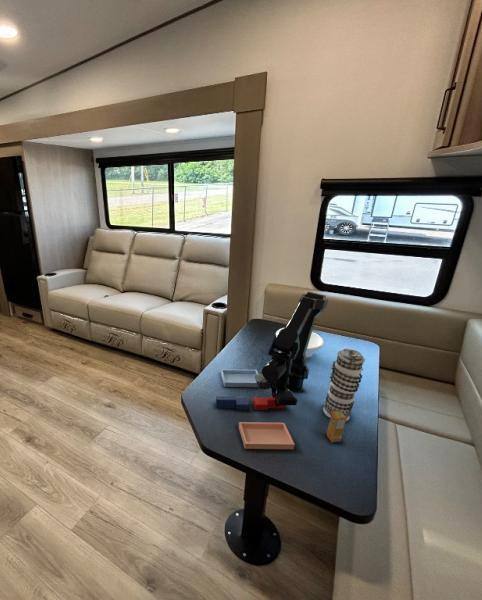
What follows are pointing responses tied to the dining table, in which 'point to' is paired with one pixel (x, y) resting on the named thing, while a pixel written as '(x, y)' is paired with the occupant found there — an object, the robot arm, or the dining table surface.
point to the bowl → (311, 343)
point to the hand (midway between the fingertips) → (275, 404)
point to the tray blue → (239, 378)
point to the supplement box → (336, 426)
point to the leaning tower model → (344, 382)
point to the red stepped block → (265, 403)
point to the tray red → (265, 435)
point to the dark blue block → (232, 402)
